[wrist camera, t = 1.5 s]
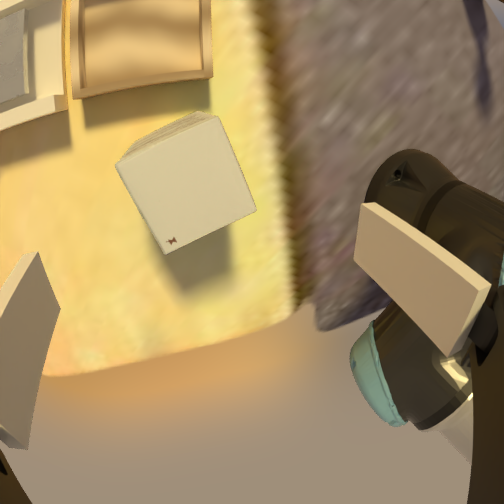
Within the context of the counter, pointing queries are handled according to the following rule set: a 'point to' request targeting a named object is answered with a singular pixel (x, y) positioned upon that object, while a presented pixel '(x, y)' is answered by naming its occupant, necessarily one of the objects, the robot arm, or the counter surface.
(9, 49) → the cradle platform
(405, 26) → the counter surface
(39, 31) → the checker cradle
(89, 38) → the wooden trough
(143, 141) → the supplement box
